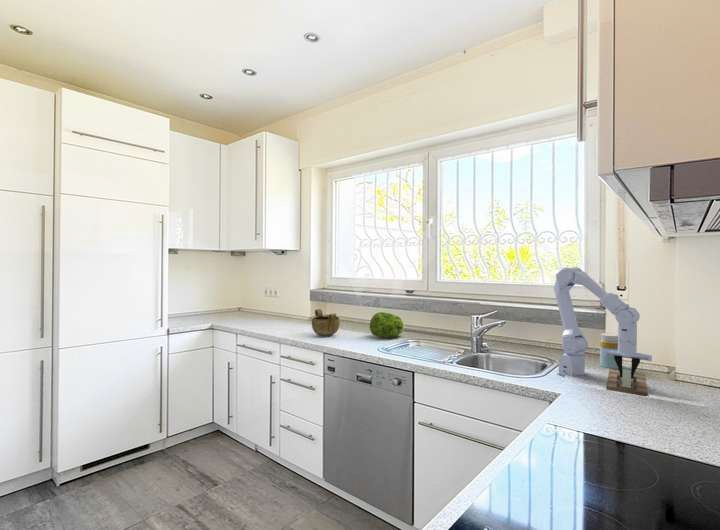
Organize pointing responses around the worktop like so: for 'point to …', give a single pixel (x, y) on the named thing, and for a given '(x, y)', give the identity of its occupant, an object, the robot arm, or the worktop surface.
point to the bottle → (608, 343)
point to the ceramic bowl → (325, 324)
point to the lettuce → (386, 325)
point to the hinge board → (636, 387)
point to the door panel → (626, 376)
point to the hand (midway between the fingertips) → (626, 377)
